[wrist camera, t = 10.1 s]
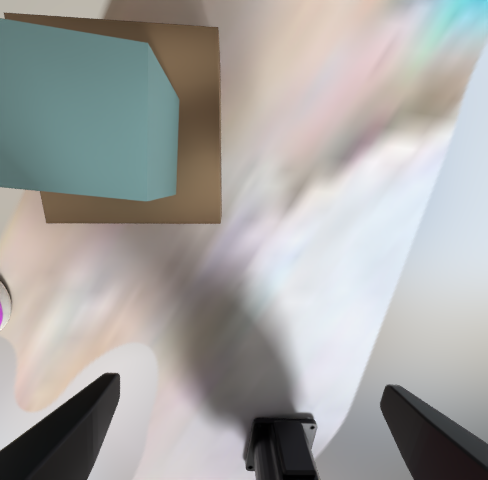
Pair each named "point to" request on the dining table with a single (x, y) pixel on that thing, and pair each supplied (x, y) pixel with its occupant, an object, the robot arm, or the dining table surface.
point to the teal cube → (85, 115)
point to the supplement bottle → (4, 306)
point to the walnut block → (189, 127)
